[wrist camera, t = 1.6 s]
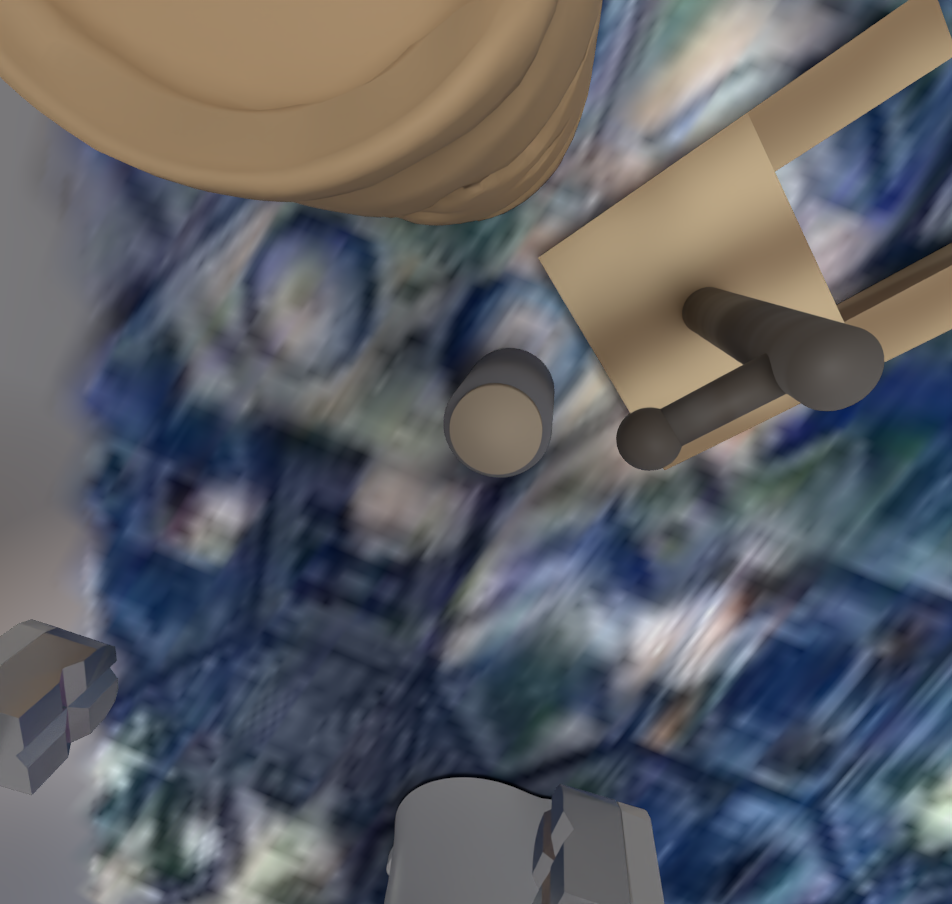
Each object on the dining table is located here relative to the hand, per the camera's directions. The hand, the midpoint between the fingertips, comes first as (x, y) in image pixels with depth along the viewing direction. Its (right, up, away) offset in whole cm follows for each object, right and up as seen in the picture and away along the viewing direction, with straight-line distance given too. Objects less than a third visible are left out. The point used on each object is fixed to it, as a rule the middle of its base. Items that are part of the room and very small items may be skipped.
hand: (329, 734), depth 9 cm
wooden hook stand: (+16, +14, +15) cm, 26 cm away
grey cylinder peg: (+4, +8, +19) cm, 21 cm away
